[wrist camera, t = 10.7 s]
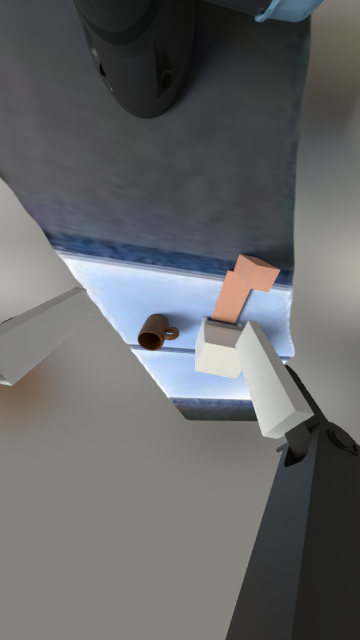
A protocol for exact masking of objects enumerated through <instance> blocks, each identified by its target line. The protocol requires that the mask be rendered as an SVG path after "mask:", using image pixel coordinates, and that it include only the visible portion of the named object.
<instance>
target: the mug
mask: <svg viewBox="0 0 360 640" xmlns="http://www.w3.org/2000/svg"><path fill="white" fill-rule="evenodd" d="M167 333H174V334H171V335H170V334H167ZM178 336H179V330H178V329H177V328H175V327H169V324H168V321H167V319H166V318H165V317H164V316H162V315H159V314H154V315H151V316H149V317H148V319H147V320H146V322H145V324H144V325H143V327H142V329H141V331H140V333H139V335H138V343H139V344H140V345H141V346H142V347H143V348H144V349H147V350H150V351H156V350H158V349H160V348H161V347H162V345H163V343H164V341H165V340H174V339H176V338H177V337H178Z"/></svg>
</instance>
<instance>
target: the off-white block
mask: <svg viewBox="0 0 360 640" xmlns="http://www.w3.org/2000/svg"><path fill="white" fill-rule="evenodd" d="M243 329H244V328H243V327H242V325H241V324H238V323H237V325H236V326H235V325H230V324H225V323H220V322H215V321H210V320H207V317H203V320H202V323H201V326H200V330H199V333H198V336H197V340H196V350H195V371H199V372H204V373H209V374H215V375H220V376H225V377H230V378H235V379H236V378H237V377H238V375H239V374H240V372H241V371H242V366H241V363H240V359H239V356H238V353H237V350H236V346H235V345H236V343H237V341H238V339H239V337H240V336H241V334H242V332H243Z"/></svg>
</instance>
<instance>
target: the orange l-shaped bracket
mask: <svg viewBox="0 0 360 640" xmlns="http://www.w3.org/2000/svg"><path fill="white" fill-rule="evenodd" d="M279 272H280V269H278V268H276V267H274V266H272V265H270V264H268V263H266V262H264V261H262V260H261V259H259V258H257V257H252V256H247V255H242V254H240V255H239V257H238V260H237V263H236V266H235V268H234V271H230V270H228V271H227V274H226V277H225V280H224V282H223V285H222V288H221V291H220V294H219V297H218V300H217V303H216V306H215V309H214V312H213V315H212V319H214V320H219V321H224V322H229V323H234V324H235V322H236V320H237V317H238V315H239V313H240V311H241V309H242V306H243V304H244V302H245V300H246V298H247V296H248V293H249V291H250V289H255V290H260V291H265V292H269V290H270V288H271V286H272V284H273V283H274V281H275V279H276V277H277V275H278V273H279Z"/></svg>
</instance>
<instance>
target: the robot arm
mask: <svg viewBox="0 0 360 640" xmlns="http://www.w3.org/2000/svg"><path fill="white" fill-rule="evenodd" d="M202 1H206V2H209V3H212V4H216V5H219V6H222V7H226V8H229V9H233V10H236V11H239V12H243V13H246V14H249V15H253V16H255V21H257V22H264V21H265V20H266V19H267V18H270V19H277V20H283V21H289V22H299V21H301V20H303V19H305V18H307V17H308V16H309V15H310V14H311V13H312V12H313V11H314V10H315V9H316V8H317V7H318V6H319V5H320V3H321V2H322V1H323V0H202ZM73 2H74V3H75V6H76V9H77V12H78V15H79V19H80V22H81V25H82V28H83V31H84V35H85V38H86V41H87V44H88V47H89V50H90V53H91V56H92V59H93V61H94V63H95V66H96V68H97V70H98V72H99V74H100V76H101V78H102V80H103V81H104V83H105V85H106V86H107V88H108V89H109V91H110V92H111V94H112V95H113V97H114V98H115V100H116V101H117V102H118V103H119V104H120V105H121V106H122V107H123V108H124V109H125V110H126V111H127V112H129V113H130V114H132V115H134V116H137V117H140V118H152V117H155V116H158V115H160V114H161V113H163V112H164V111H165V110H167V109H168V108H169V107H170V105H171V104H172V103H173V102H174V100H175V99H176V97H177V96H178V94H179V92H180V90H181V88H182V86H183V84H184V81H185V79H186V76H187V73H188V69H189V66H190V61H191V57H192V51H193V44H194V34H195V0H73ZM91 318H92V314H91V310H90V305H89V300H88V296H87V291H86V289H83V288H78V287H76V288H74V289H72V290H70V291H68V292H66V293H64V294H62V295H59V296H58V297H55V298H53V299H51V300H49V301H47V302H45V303H43V304H41V305H39V306H37V307H35V308H33V309H31V310H29V311H27V312H25V313H23V314H21V315H19V316H16V317H13V318H10V319H8V320H6V321H4V322H2V323H1V324H0V383H1V384H6V385H11V386H12V385H13V384H14V383H15V382H17V381H18V380H19V379H20V378H21V377H23V376H24V375H25V374H26V373H27V372H28V371H30V370H31V369H32V368H33V367H35V366H36V365H37V364H38V363H39V362H40V361H42V360H43V359H44V358H45V357H46V356H48V355H49V354H50V353H51V352H52V351H53V350H55V349H56V348H57V347H58V346H59V345H61V344H62V343H63V342H64V341H65V340H66V339H68V338H69V337H70V336H71V335H72V334H73V333H75V332H76V331H77V330H78V329H79V328H81V327H82V326H83V325H84V324H85V323H87V322H88V321H89V320H90V319H91ZM235 346H236V350H237V353H238V356H239V359H240V363H241V366H242V369H243V373H244V376H245V379H246V382H247V386H248V389H249V392H250V395H251V399H252V402H253V405H254V408H255V412H256V415H257V418H258V422H259V425H260V428H261V431H262V435H263V436H266V437H271V438H276V439H278V438H280V437H281V436H283V435H284V434H285V436H286V439H287V441H288V442H287V443H285V444H283V445H282V446H280V447H278V448H277V450H276V451H277V452H280V451H282V450H283V452H282V455H281V458H280V462H279V465H278V468H277V471H276V475H275V478H274V482H273V485H272V488H271V491H270V495H269V498H268V501H267V505H266V508H265V511H264V514H263V517H262V521H261V524H260V527H259V531H258V534H257V537H256V541H255V544H254V547H253V550H252V554H251V557H250V560H249V564H248V567H247V570H246V573H245V577H244V580H243V583H242V587H241V590H240V593H239V597H238V600H237V603H236V606H235V610H234V613H233V616H232V620H231V623H230V626H229V630H228V633H227V636H226V639H225V640H360V446H359V445H357V444H356V442H355V441H354V440H353V439H352V438H351V436H349V434H348V433H347V432H345V431H344V430H343V429H342V428H340V427H339V426H337V425H336V424H334V423H332V422H329V421H328V420H327V419H326V418H325V416H324V414H323V413H322V411H321V410H320V408H319V407H318V405H317V404H316V402H315V401H314V399H313V398H312V396H311V395H310V393H309V392H308V391H307V390H306V387H305V386H304V384H303V383H301V380H300V378H299V377H298V375H297V374H296V373H295V372H294V371H293V370H292V369H291V368H290V367H289V366H288V365H284V364H283V363H282V361H281V359H280V358H279V356H278V354H277V353H276V351H275V350H274V348H273V346H272V345H271V343H270V341H269V340H268V338H267V337H266V335H265V333H264V332H263V330H262V329H261V327H260V325H259V324H258V322H253V321H248V322H247V324H246V326H245V328H244V330H243V332H242V334H241V336H240V337H239V339H238V341H237V343H236V345H235Z"/></svg>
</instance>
